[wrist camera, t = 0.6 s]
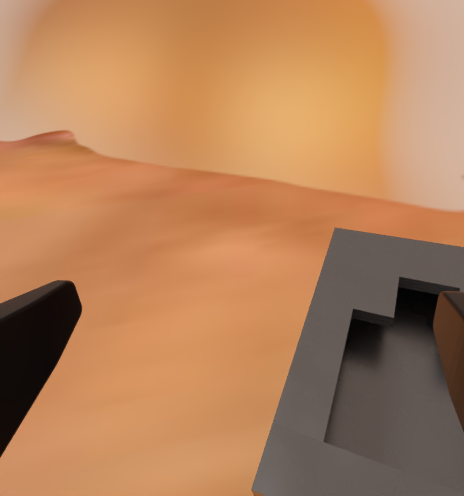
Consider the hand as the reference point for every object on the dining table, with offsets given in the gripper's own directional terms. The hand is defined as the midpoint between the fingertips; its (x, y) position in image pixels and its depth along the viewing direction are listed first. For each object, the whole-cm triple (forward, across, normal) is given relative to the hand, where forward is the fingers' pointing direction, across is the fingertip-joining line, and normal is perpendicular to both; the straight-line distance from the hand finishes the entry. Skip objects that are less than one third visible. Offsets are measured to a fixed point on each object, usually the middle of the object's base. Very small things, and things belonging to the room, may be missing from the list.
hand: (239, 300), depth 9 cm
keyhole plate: (+10, -8, +14) cm, 19 cm away
